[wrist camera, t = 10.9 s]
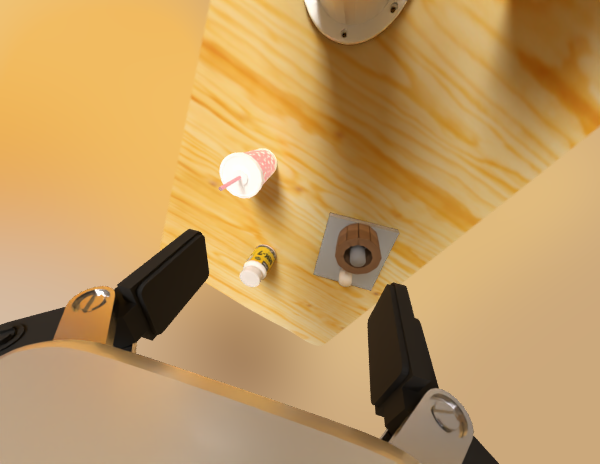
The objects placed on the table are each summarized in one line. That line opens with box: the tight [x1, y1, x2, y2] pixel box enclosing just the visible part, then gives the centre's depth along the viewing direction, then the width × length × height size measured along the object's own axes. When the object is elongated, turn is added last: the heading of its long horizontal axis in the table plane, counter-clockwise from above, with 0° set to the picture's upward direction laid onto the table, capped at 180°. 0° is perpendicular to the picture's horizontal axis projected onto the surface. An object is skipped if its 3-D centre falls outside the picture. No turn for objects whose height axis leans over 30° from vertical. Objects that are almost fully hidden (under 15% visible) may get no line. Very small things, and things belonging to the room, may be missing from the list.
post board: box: [314, 213, 399, 291], centre depth 38 cm, size 14×12×7 cm
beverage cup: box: [219, 148, 277, 198], centre depth 31 cm, size 6×6×14 cm
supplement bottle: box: [240, 245, 276, 287], centre depth 43 cm, size 5×5×8 cm
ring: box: [335, 223, 382, 275], centre depth 36 cm, size 7×7×5 cm
